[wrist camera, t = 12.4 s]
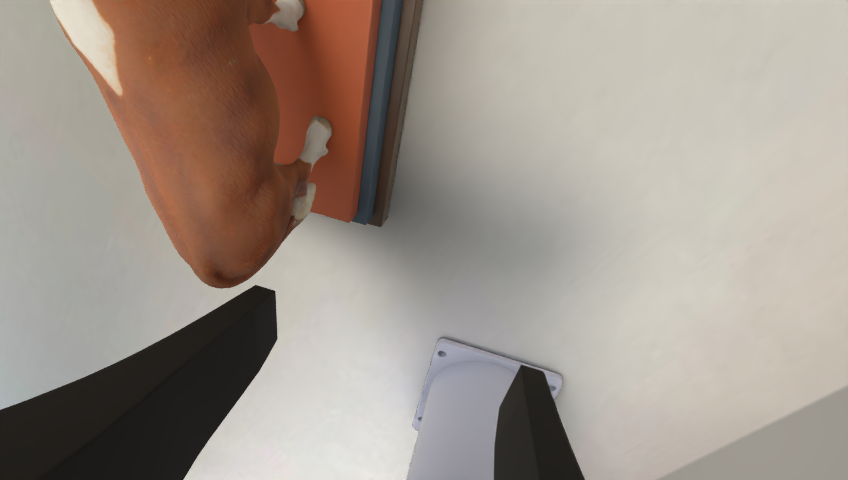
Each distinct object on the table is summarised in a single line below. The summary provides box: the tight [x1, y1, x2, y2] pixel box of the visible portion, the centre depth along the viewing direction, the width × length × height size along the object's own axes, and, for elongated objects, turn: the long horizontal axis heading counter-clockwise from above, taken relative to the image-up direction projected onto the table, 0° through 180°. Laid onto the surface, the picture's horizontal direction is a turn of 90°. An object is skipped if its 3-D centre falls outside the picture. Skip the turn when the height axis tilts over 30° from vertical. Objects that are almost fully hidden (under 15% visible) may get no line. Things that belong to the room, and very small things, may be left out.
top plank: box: [248, 0, 382, 223], centre depth 15 cm, size 14×7×1 cm, turn 169°
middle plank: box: [351, 0, 403, 225], centre depth 16 cm, size 15×8×1 cm, turn 169°
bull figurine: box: [49, 0, 333, 288], centre depth 12 cm, size 4×13×8 cm, turn 179°
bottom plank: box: [368, 0, 423, 227], centre depth 17 cm, size 16×9×1 cm, turn 169°
